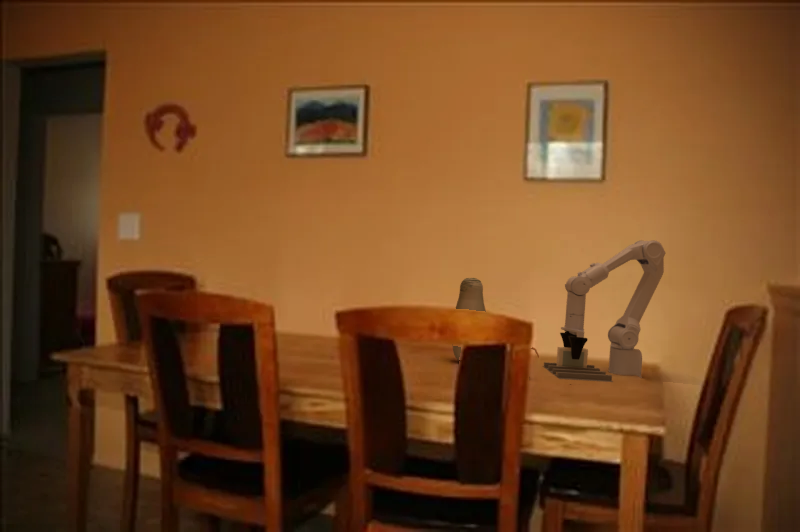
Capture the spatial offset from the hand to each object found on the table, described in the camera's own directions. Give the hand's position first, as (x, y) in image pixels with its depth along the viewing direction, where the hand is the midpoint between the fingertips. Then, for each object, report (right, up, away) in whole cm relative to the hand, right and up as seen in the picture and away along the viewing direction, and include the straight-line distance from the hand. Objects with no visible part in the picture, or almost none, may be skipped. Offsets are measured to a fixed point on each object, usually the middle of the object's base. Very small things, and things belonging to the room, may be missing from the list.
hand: (571, 357), depth 199 cm
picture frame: (0, -4, 0) cm, 4 cm away
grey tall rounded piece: (-32, -3, +8) cm, 34 cm away
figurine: (-19, -5, -16) cm, 25 cm away
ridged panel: (0, -5, -5) cm, 7 cm away
